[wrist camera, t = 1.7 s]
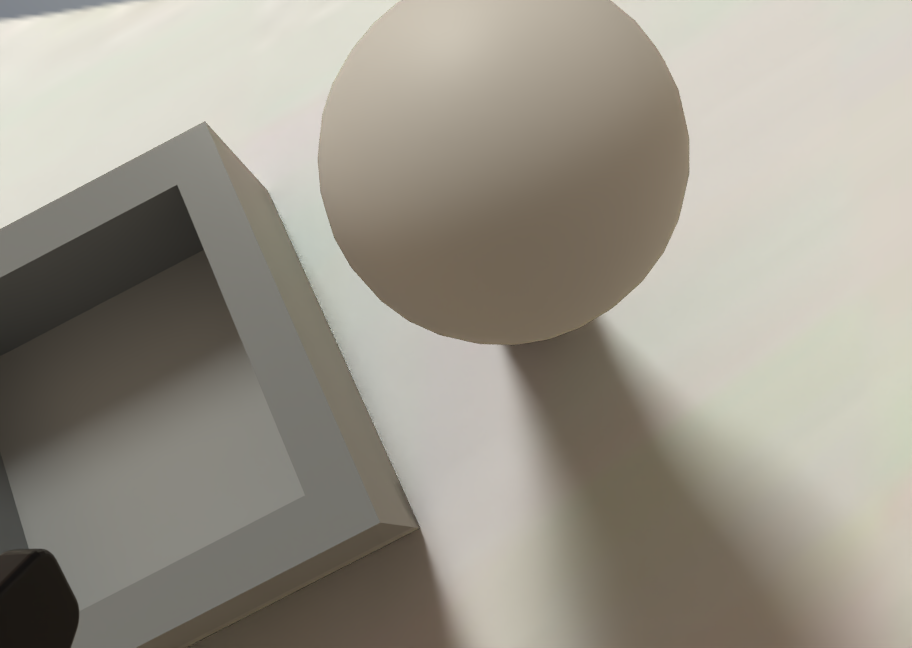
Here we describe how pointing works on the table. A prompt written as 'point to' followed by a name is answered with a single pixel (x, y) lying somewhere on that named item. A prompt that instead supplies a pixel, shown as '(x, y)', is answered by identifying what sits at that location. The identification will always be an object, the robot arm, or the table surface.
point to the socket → (179, 403)
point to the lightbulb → (503, 163)
